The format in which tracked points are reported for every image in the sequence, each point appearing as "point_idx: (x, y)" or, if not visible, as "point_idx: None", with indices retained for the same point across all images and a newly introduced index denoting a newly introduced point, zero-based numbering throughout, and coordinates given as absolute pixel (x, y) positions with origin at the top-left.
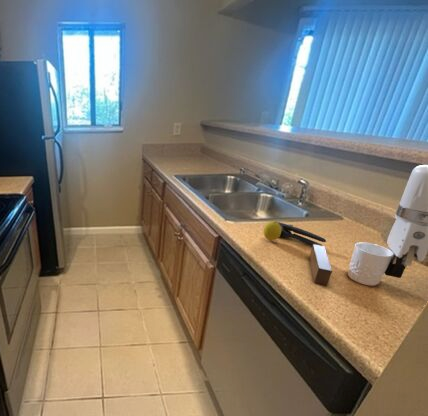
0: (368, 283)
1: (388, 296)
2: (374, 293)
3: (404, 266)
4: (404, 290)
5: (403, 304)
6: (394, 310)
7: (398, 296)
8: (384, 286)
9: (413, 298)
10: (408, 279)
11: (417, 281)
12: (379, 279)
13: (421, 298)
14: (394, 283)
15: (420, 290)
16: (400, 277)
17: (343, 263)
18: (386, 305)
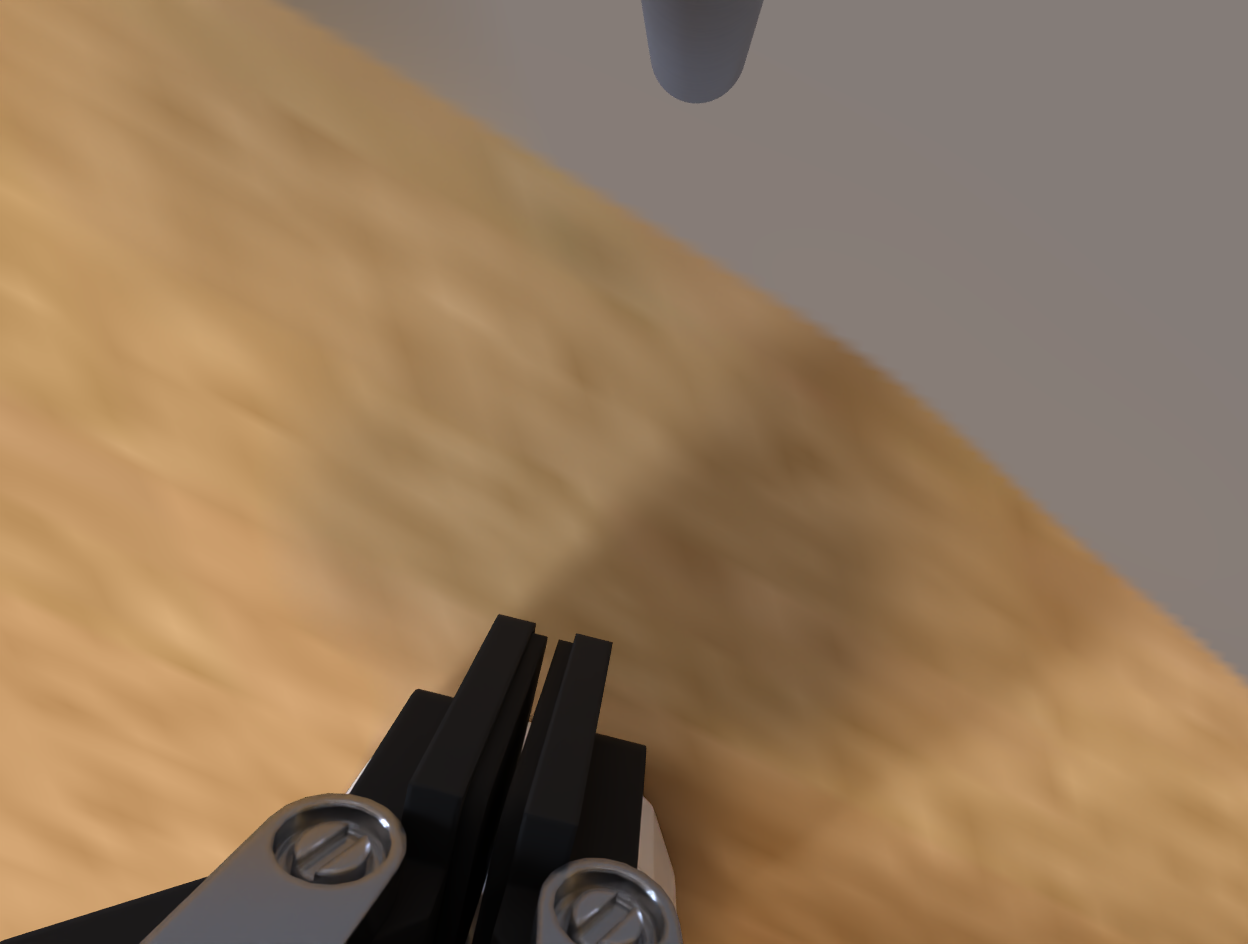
0: None
1: (895, 772)
2: (859, 900)
3: (574, 823)
4: (666, 469)
5: (1060, 693)
6: (1222, 874)
7: (863, 645)
8: (628, 686)
9: (870, 470)
10: (269, 200)
11: (287, 81)
12: None
13: (842, 351)
14: (489, 500)
15: (593, 217)
16: (608, 641)
17: (111, 900)
18: (1123, 905)
